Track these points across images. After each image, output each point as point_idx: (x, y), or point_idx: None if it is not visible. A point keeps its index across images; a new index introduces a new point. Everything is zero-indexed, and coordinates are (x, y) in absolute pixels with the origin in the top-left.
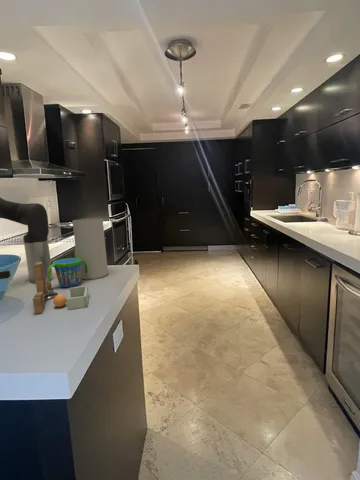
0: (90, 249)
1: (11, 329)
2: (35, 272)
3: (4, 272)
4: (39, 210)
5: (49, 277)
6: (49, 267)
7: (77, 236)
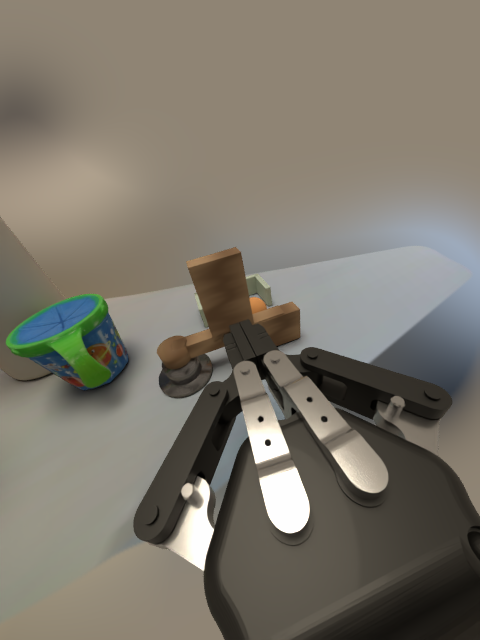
0: (39, 274)
1: (379, 335)
2: (243, 272)
3: (253, 328)
4: None
5: (106, 368)
6: (72, 350)
7: None
